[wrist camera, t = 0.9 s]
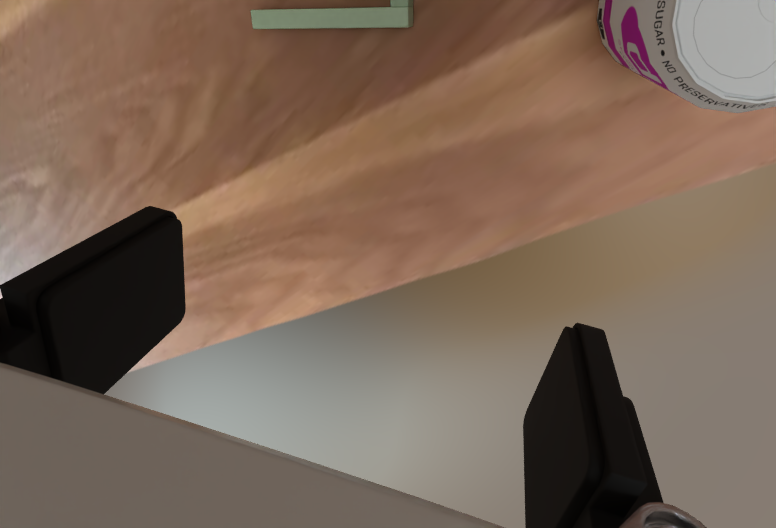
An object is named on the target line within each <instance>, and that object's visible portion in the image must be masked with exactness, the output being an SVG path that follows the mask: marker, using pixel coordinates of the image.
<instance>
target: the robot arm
mask: <svg viewBox="0 0 776 528" xmlns="http://www.w3.org/2000/svg"><path fill="white" fill-rule="evenodd" d="M0 289H1V293H2V296H3V298H1V299H0V528H504V527H502V526H499V525H496V524H493V523H490V522H487V521H484V520H482V519H479V518H476V517H473V516H470V515H467V514H465V513H462V512H459V511H455V510H453V509H450V508H447V507H444V506H441V505H439V504H436V503H433V502H430V501H427V500H424V499H421V498H418V497H415V496H412V495H409V494H406V493H403V492H400V491H397V490H394V489H391V488H388V487H385V486H382V485H379V484H376V483H373V482H370V481H367V480H364V479H361V478H358V477H355V476H352V475H349V474H346V473H343V472H340V471H337V470H334V469H331V468H328V467H325V466H322V465H319V464H316V463H313V462H310V461H307V460H304V459H301V458H298V457H295V456H292V455H289V454H285V453H283V452H280V451H276V450H273V449H270V448H267V447H264V446H261V445H258V444H255V443H252V442H249V441H246V440H243V439H240V438H237V437H234V436H230V435H227V434H224V433H221V432H218V431H215V430H212V429H209V428H206V427H203V426H200V425H197V424H194V423H191V422H188V421H185V420H181V419H178V418H175V417H172V416H169V415H166V414H163V413H160V412H156V411H154V410H150V409H147V408H144V407H141V406H138V405H135V404H131V403H128V402H125V401H122V400H119V399H116V398H113V397H110V396H107V395H104V394H105V393H106V392H107V391H108V390H109V389H110V388H111V387H112V386H113V385H114V384H115V383H116V382H117V381H118V380H119V379H121V378H122V377H123V376H124V375H125V374H126V373H127V372H128V371H129V370H130V369H131V368H132V367H133V366H134V365H135V364H137V363H138V362H139V361H140V360H141V359H142V358H143V357H144V356H145V355H146V354H147V353H148V352H149V351H150V350H151V349H153V348H154V347H155V346H156V345H157V344H158V343H159V342H160V341H161V340H162V339H163V338H164V337H165V336H166V335H168V334H169V333H170V332H171V331H172V330H173V329H174V328H175V327H176V326H177V325H178V324H179V323H180V322H181V321H182V319H183V317H184V314H185V285H184V261H183V238H182V224H181V222H180V221H179V220H178V219H177V217H176V215H175V214H174V213H173V212H171V211H167V210H163V209H160V208H156V207H152V206H148V207H145V208H144V209H142V210H140V211H138V212H136V213H134V214H132V215H130V216H129V217H127V218H125V219H123V220H121V221H119V222H117V223H116V224H114V225H112V226H110V227H108V228H106V229H104V230H102V231H101V232H99V233H97V234H95V235H93V236H91V237H89V238H88V239H86V240H84V241H82V242H80V243H78V244H76V245H74V246H73V247H71V248H69V249H67V250H65V251H63V252H61V253H60V254H58V255H56V256H54V257H52V258H50V259H48V260H46V261H45V262H43V263H41V264H39V265H37V266H35V267H33V268H32V269H30V270H28V271H26V272H24V273H22V274H20V275H18V276H17V277H15V278H13V279H11V280H9V281H7V282H5V283H4V284H2V285H0ZM523 436H524V477H525V478H524V479H525V518H526V519H525V520H526V528H706V527H705V526H704V525H703V524H702V523H701V522H700V521H698V520H697V519H696V518H694V517H693V516H691V515H690V514H689V513H687V512H685V511H683V510H681V509H679V508H677V507H675V506H673V505H669V504H664V503H663V500H662V497H661V493H660V490H659V487H658V483H657V480H656V477H655V473H654V470H653V467H652V464H651V460H650V457H649V454H648V450H647V447H646V444H645V441H644V437H643V434H642V431H641V427H640V424H639V421H638V418H637V414H636V411H635V408H634V405H633V403H632V401H631V400H630V399H629V398H627V397H623V395H622V391H621V388H620V384H619V380H618V377H617V373H616V370H615V367H614V363H613V360H612V356H611V352H610V349H609V346H608V342H607V339H606V335H605V332H604V330H602V329H598V328H595V327H591V326H587V325H584V324H580V323H576V324H575V325H574V326H573V328H570V327H565V328H564V329H563V331H562V333H561V335H560V338H559V340H558V342H557V344H556V347H555V349H554V351H553V353H552V355H551V358H550V360H549V362H548V364H547V366H546V369H545V371H544V373H543V375H542V377H541V380H540V382H539V384H538V386H537V389H536V391H535V393H534V395H533V398H532V400H531V402H530V404H529V406H528V409H527V411H526V414H525V418H524V424H523Z"/></svg>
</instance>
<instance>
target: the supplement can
mask: <svg viewBox="0 0 776 528" xmlns="http://www.w3.org/2000/svg"><path fill="white" fill-rule="evenodd" d="M597 23H598V27H599V31H600V36H601V40H602V44H603V45H604V46H605V48H606V49H607V50H608V52H609V53H610V54H611V56H612V57H613V58H614V60H615V61H616V62H618V63H620V64H621V65H623V66H625V67H627V68H628V69H630V70H632V71H634V72H635V73H637V74H639V75H641V76H643V77H645V78H646V79H648V80H650V81H652V82H654V83H656V84H657V85H659V86H661V87H663V88H665V89H667V90H668V91H670V92H672V93H674V94H676V95H678V96H679V97H681V98H683V99H685V100H687V101H689V102H690V103H692V104H694V105H696V106H698V107H700V108H704V109H712V110H719V111H726V112H733V113H742V112H747V111H753V110H758V109H764V108H770V107H775V106H776V0H599V6H598V14H597Z"/></svg>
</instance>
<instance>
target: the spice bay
mask: <svg viewBox="0 0 776 528" xmlns="http://www.w3.org/2000/svg"><path fill="white" fill-rule="evenodd" d="M390 6H391V7H373V8H322V9H271V10H251V18H252V25H253V29H306V28H401V27H412V26H413V0H390Z"/></svg>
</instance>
